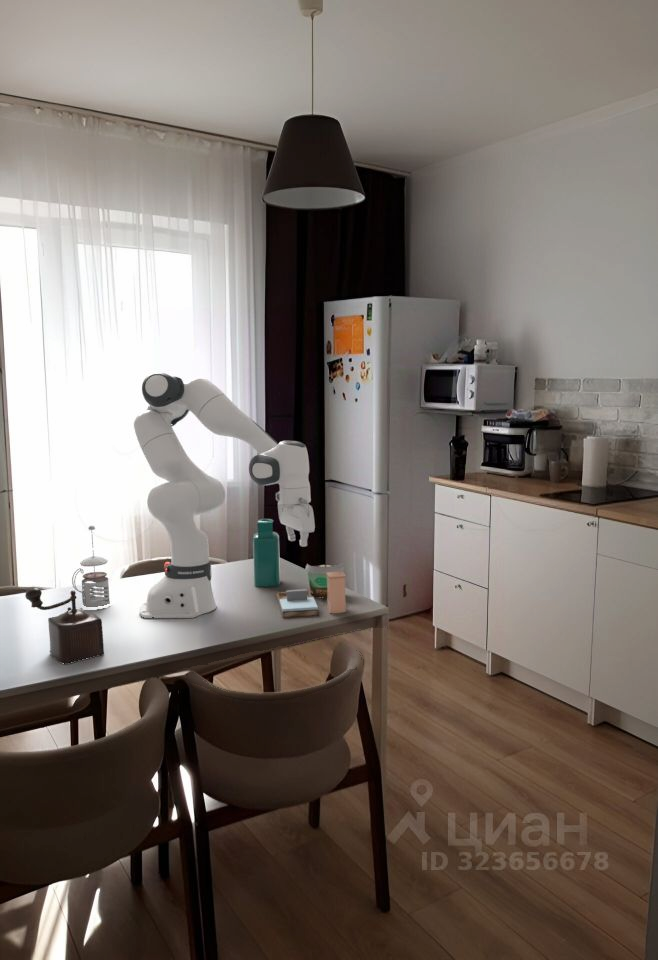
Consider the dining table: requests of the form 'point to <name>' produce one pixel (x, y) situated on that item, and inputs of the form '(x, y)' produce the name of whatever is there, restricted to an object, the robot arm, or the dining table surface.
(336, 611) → the canister
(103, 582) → the french press
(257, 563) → the green bottle
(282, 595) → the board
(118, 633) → the dining table surface
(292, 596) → the cover
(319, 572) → the food container
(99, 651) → the manual coffee grinder
